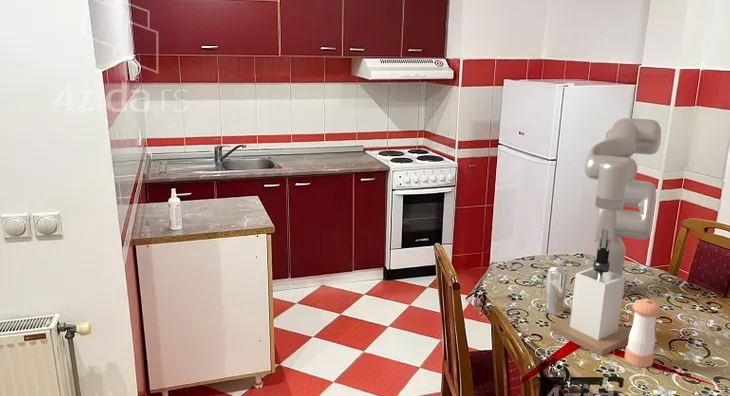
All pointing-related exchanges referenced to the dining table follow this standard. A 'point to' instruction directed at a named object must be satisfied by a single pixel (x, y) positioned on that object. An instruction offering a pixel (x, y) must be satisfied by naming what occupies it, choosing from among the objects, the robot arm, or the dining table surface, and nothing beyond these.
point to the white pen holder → (595, 313)
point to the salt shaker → (642, 333)
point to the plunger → (601, 269)
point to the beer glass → (556, 289)
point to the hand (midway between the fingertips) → (602, 261)
